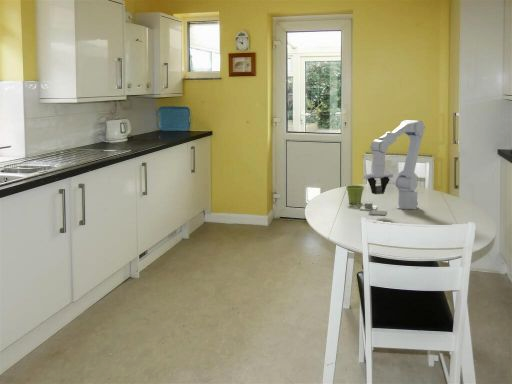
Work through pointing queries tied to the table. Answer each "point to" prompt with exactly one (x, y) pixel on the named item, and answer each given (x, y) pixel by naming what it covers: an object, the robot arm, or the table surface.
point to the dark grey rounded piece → (378, 189)
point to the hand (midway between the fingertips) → (378, 193)
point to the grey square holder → (368, 206)
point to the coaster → (377, 212)
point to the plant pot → (354, 193)
